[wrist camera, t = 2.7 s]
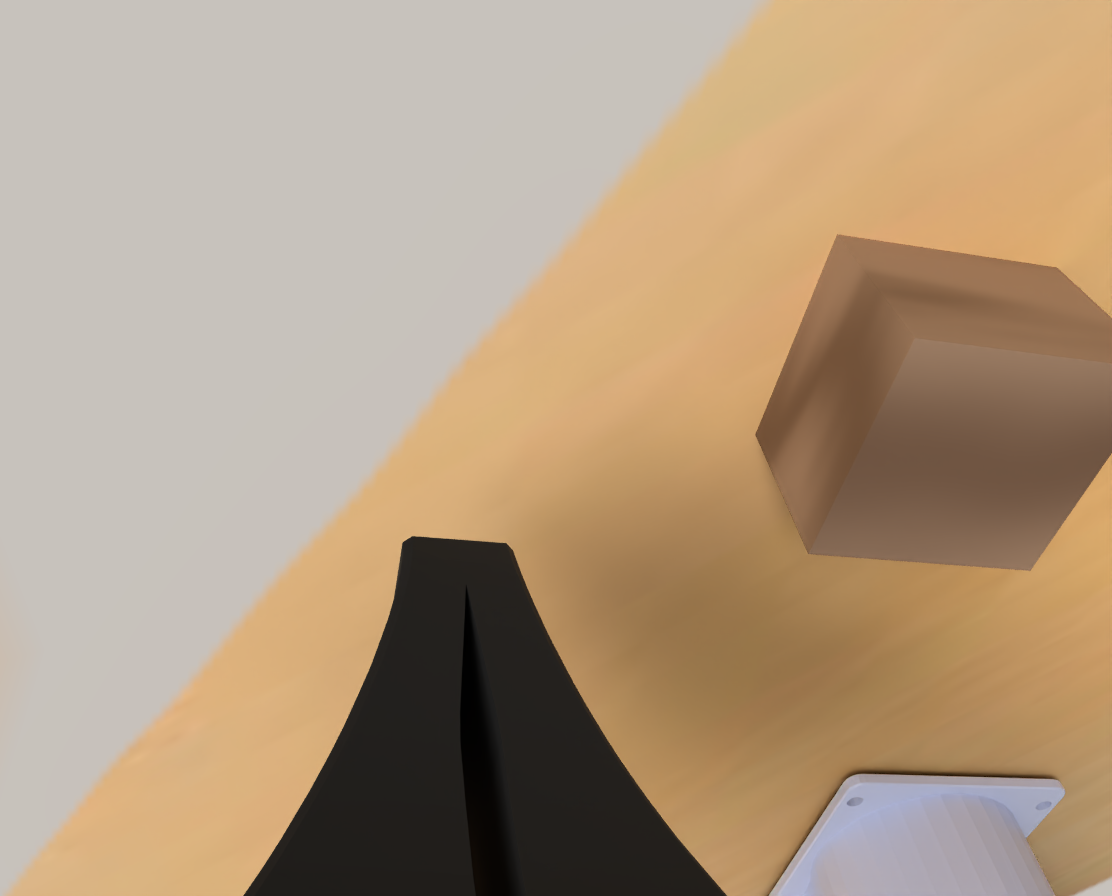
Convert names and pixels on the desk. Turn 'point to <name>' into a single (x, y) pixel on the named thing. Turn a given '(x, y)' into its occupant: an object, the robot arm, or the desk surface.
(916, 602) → the desk surface
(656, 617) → the desk surface
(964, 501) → the walnut block
